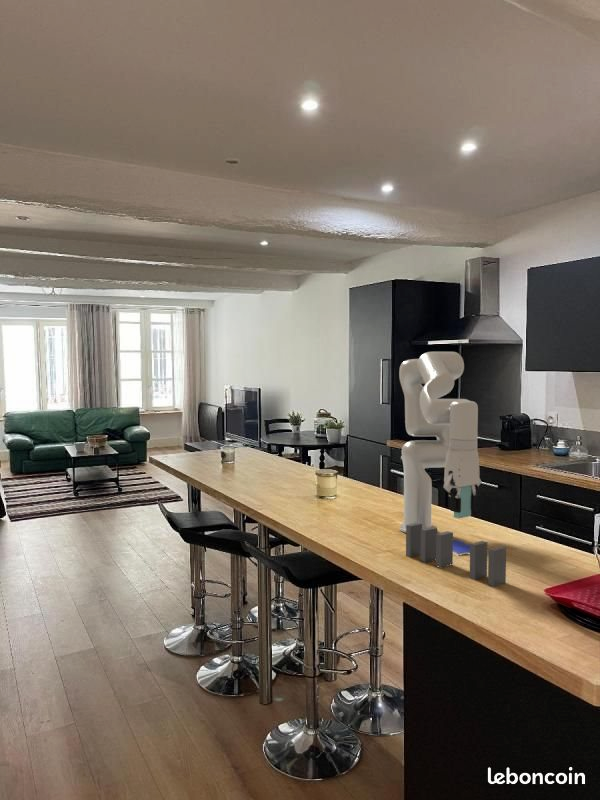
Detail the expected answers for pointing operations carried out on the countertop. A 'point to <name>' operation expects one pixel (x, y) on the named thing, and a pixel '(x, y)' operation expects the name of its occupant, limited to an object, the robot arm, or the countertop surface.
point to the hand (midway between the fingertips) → (462, 509)
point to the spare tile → (464, 502)
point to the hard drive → (460, 547)
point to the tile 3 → (444, 549)
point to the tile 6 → (497, 566)
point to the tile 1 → (413, 539)
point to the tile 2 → (428, 544)
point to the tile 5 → (478, 560)
